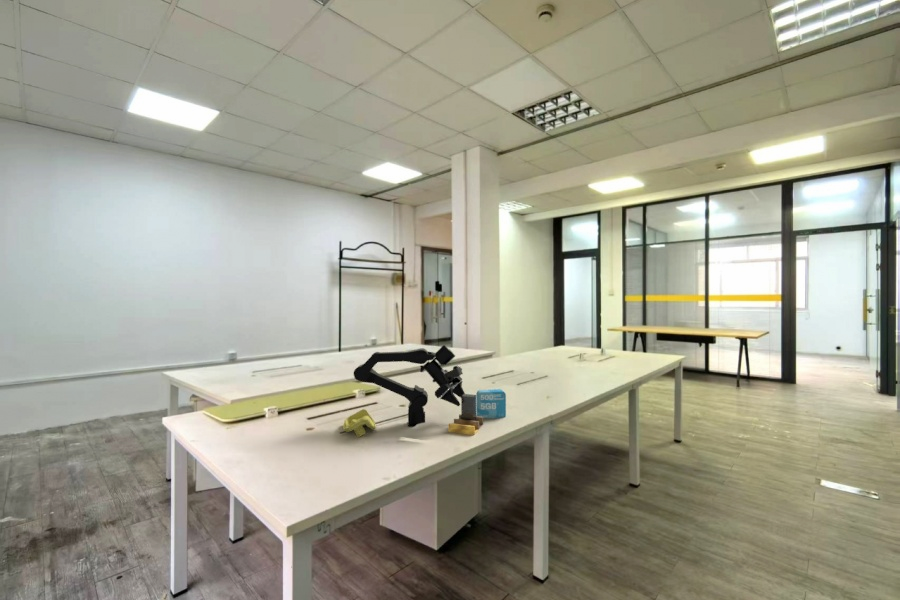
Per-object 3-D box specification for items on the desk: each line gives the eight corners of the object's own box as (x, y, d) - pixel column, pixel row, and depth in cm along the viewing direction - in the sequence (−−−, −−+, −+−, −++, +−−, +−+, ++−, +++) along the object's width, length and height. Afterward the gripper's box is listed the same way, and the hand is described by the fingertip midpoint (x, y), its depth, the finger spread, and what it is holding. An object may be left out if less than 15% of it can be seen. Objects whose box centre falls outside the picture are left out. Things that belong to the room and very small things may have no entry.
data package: (478, 420, 160) (478, 392, 160) (476, 417, 164) (476, 389, 164) (506, 419, 161) (505, 391, 161) (503, 416, 166) (503, 389, 166)
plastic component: (344, 419, 155) (367, 406, 157) (352, 434, 155) (375, 422, 157) (342, 431, 136) (367, 417, 138) (351, 449, 136) (377, 434, 138)
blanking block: (461, 426, 149) (461, 395, 149) (464, 423, 152) (464, 393, 153) (473, 427, 147) (473, 397, 148) (476, 425, 151) (476, 394, 151)
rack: (448, 434, 143) (448, 423, 143) (459, 424, 155) (459, 414, 155) (474, 437, 139) (473, 426, 139) (483, 426, 151) (483, 416, 152)
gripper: (442, 363, 144) (470, 394, 140) (457, 356, 162) (482, 384, 158) (423, 382, 147) (450, 413, 143) (440, 374, 164) (464, 401, 161)
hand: (463, 402), depth 151 cm, fingers open, 9 cm apart
